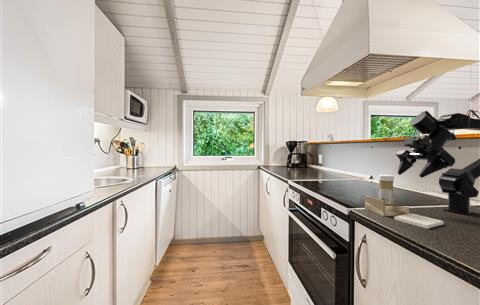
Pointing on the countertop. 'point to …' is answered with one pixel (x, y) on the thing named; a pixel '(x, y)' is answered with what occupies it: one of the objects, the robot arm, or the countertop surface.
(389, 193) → the sprinkles bottle
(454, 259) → the countertop surface
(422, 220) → the cream tile
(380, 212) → the bottle holder
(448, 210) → the robot arm
